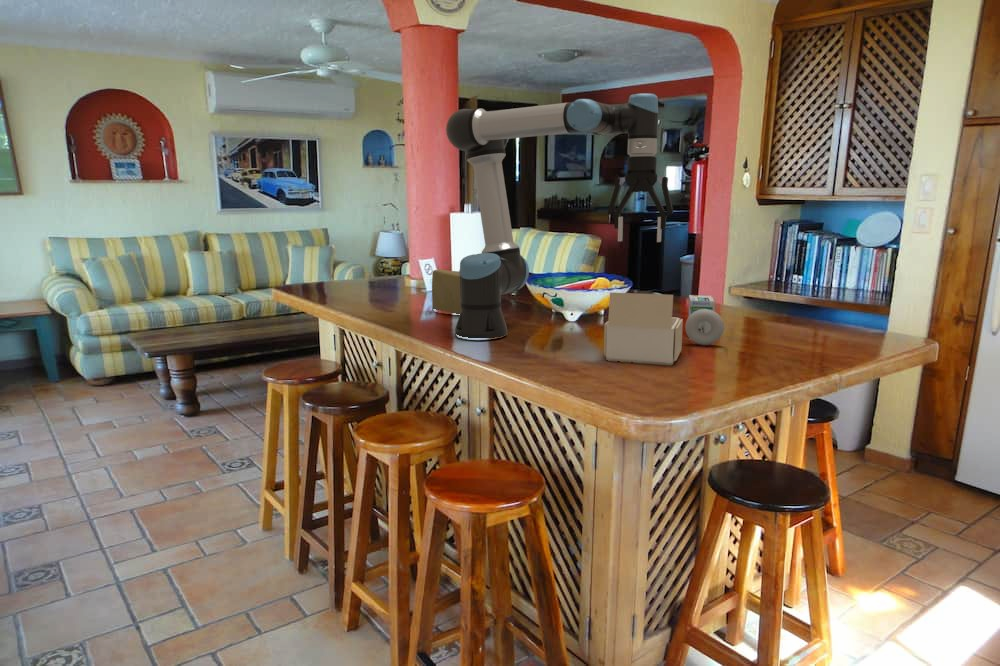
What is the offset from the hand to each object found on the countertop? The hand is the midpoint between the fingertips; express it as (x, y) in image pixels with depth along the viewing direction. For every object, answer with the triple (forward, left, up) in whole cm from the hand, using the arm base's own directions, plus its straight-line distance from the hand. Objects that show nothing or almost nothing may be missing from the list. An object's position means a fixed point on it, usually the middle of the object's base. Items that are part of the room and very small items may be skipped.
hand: (639, 241), depth 186 cm
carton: (+5, -17, -28) cm, 33 cm away
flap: (+5, -25, -19) cm, 31 cm away
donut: (+18, 0, -28) cm, 33 cm away
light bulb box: (+16, +14, -28) cm, 35 cm away
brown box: (-64, +23, -28) cm, 74 cm away
